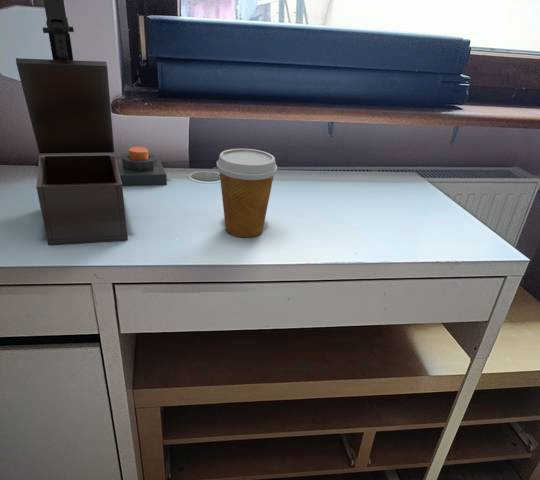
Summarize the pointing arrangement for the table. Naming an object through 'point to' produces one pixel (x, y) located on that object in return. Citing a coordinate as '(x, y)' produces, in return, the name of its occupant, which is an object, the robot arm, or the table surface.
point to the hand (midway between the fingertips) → (67, 86)
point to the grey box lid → (68, 105)
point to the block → (141, 171)
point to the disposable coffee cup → (245, 189)
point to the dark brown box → (81, 198)
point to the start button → (138, 153)
